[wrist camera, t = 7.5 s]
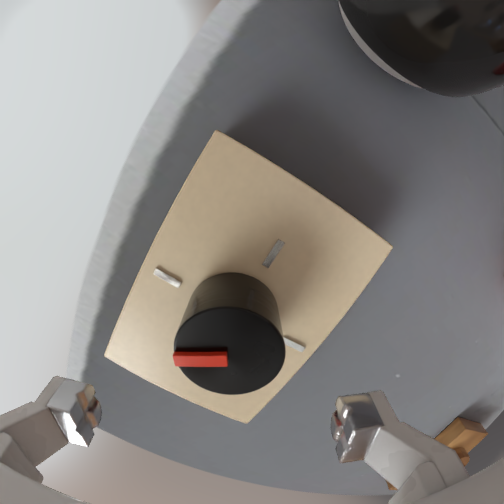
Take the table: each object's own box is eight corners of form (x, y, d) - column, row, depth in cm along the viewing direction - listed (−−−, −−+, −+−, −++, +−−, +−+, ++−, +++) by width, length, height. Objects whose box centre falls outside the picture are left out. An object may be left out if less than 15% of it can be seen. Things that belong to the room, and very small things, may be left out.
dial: (277, 269, 14) (287, 307, 10) (278, 347, 15) (285, 397, 11) (182, 273, 14) (161, 312, 10) (195, 350, 15) (182, 399, 11)
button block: (416, 478, 27) (425, 498, 23) (384, 477, 25) (392, 500, 22) (480, 423, 24) (494, 442, 20) (457, 416, 22) (472, 439, 19)
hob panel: (247, 394, 20) (246, 426, 17) (120, 331, 18) (102, 357, 15) (371, 232, 16) (395, 247, 13) (222, 135, 15) (215, 128, 12)
